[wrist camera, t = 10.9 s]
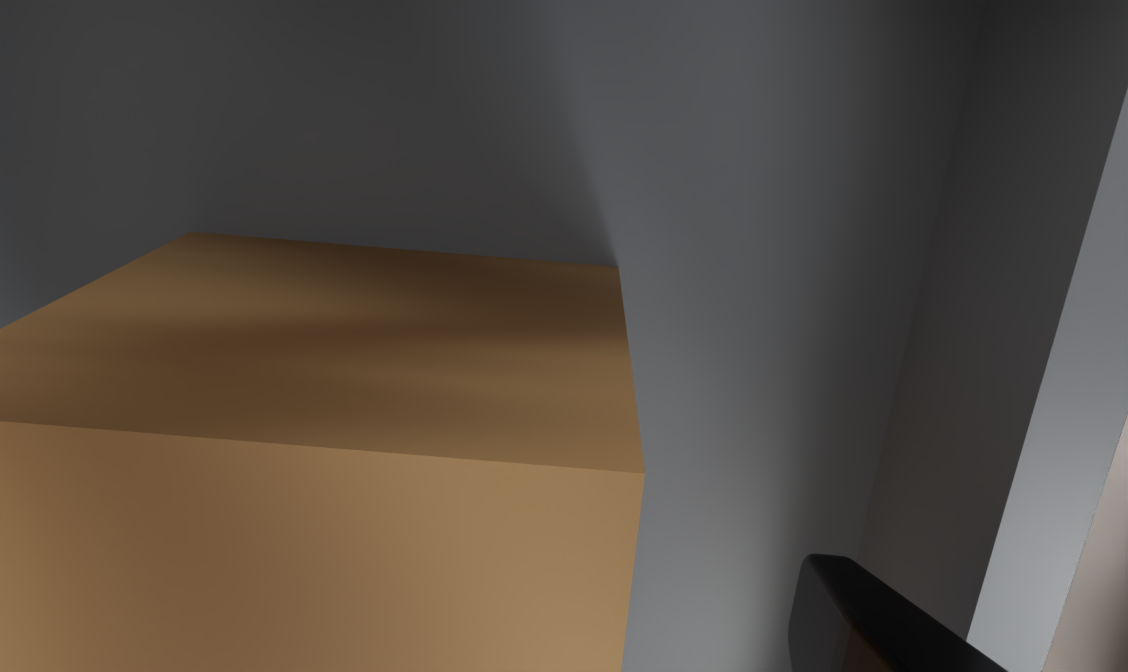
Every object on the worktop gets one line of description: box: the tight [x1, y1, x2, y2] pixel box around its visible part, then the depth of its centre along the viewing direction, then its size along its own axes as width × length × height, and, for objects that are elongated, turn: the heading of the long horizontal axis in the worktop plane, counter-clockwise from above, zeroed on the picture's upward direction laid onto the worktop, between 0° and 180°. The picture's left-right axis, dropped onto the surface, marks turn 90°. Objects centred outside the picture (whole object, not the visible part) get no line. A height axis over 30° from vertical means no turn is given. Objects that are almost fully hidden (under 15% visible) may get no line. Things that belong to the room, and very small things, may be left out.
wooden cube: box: [0, 232, 645, 672], centre depth 9 cm, size 5×5×5 cm
